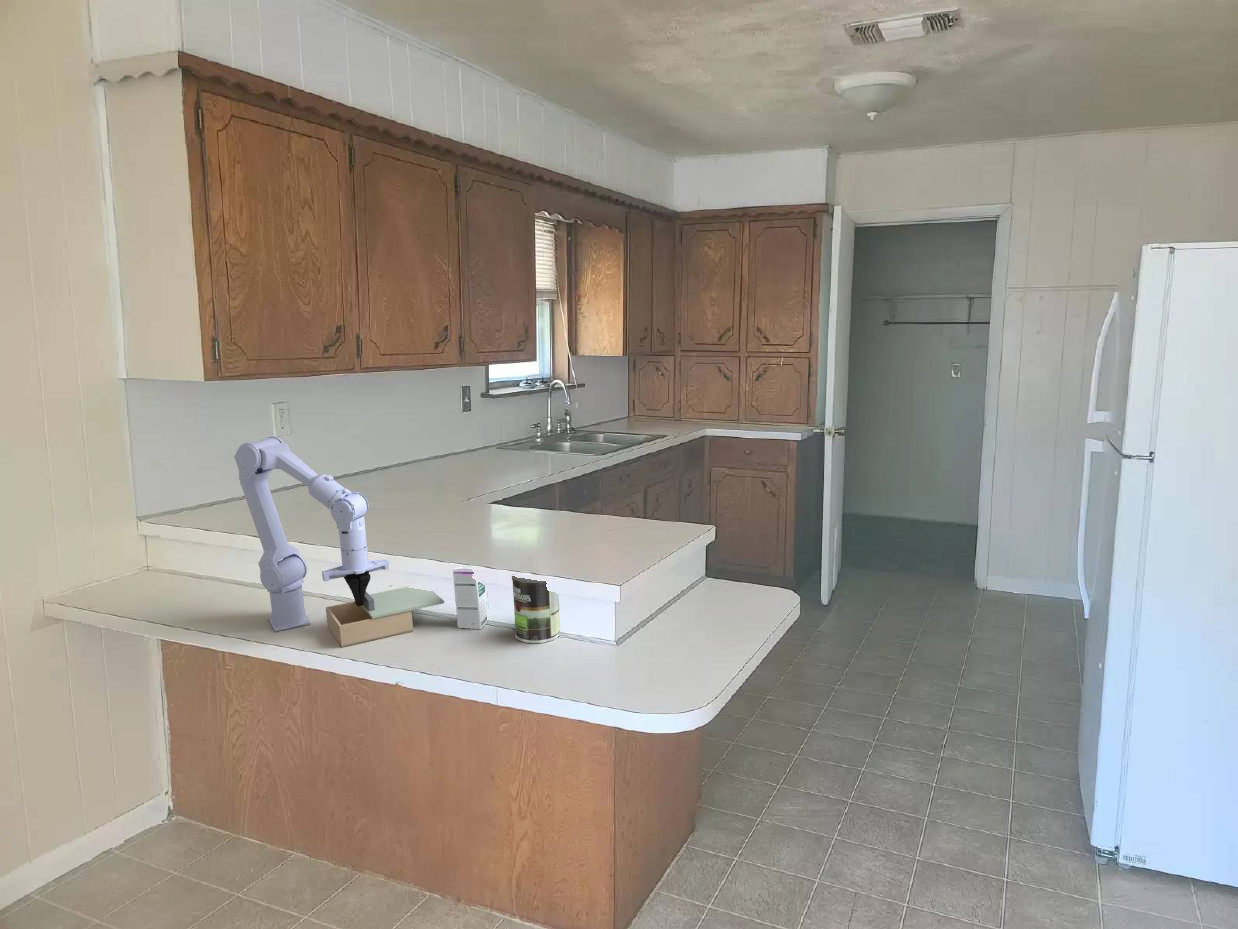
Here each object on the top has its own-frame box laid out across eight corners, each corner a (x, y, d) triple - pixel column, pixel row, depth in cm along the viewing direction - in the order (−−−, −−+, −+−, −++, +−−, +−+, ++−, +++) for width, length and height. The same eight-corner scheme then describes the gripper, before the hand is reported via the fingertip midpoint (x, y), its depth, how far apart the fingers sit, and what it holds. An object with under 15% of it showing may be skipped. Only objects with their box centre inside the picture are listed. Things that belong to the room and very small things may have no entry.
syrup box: (481, 630, 199) (477, 569, 196) (456, 628, 200) (452, 568, 197) (489, 620, 205) (485, 561, 202) (465, 619, 206) (461, 560, 203)
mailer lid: (355, 599, 206) (354, 587, 206) (424, 585, 214) (423, 573, 214) (372, 618, 194) (371, 605, 193) (444, 603, 202) (443, 590, 201)
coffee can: (532, 647, 188) (528, 585, 186) (506, 634, 196) (502, 574, 193) (570, 634, 195) (567, 574, 192) (544, 622, 203) (540, 564, 200)
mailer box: (327, 627, 204) (325, 607, 203) (395, 612, 211) (393, 593, 210) (341, 647, 192) (339, 626, 191) (413, 631, 200) (411, 610, 199)
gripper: (324, 557, 190) (330, 616, 192) (390, 546, 197) (395, 603, 200) (317, 549, 196) (323, 607, 198) (382, 538, 203) (387, 594, 206)
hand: (359, 604), depth 199 cm, fingers closed
